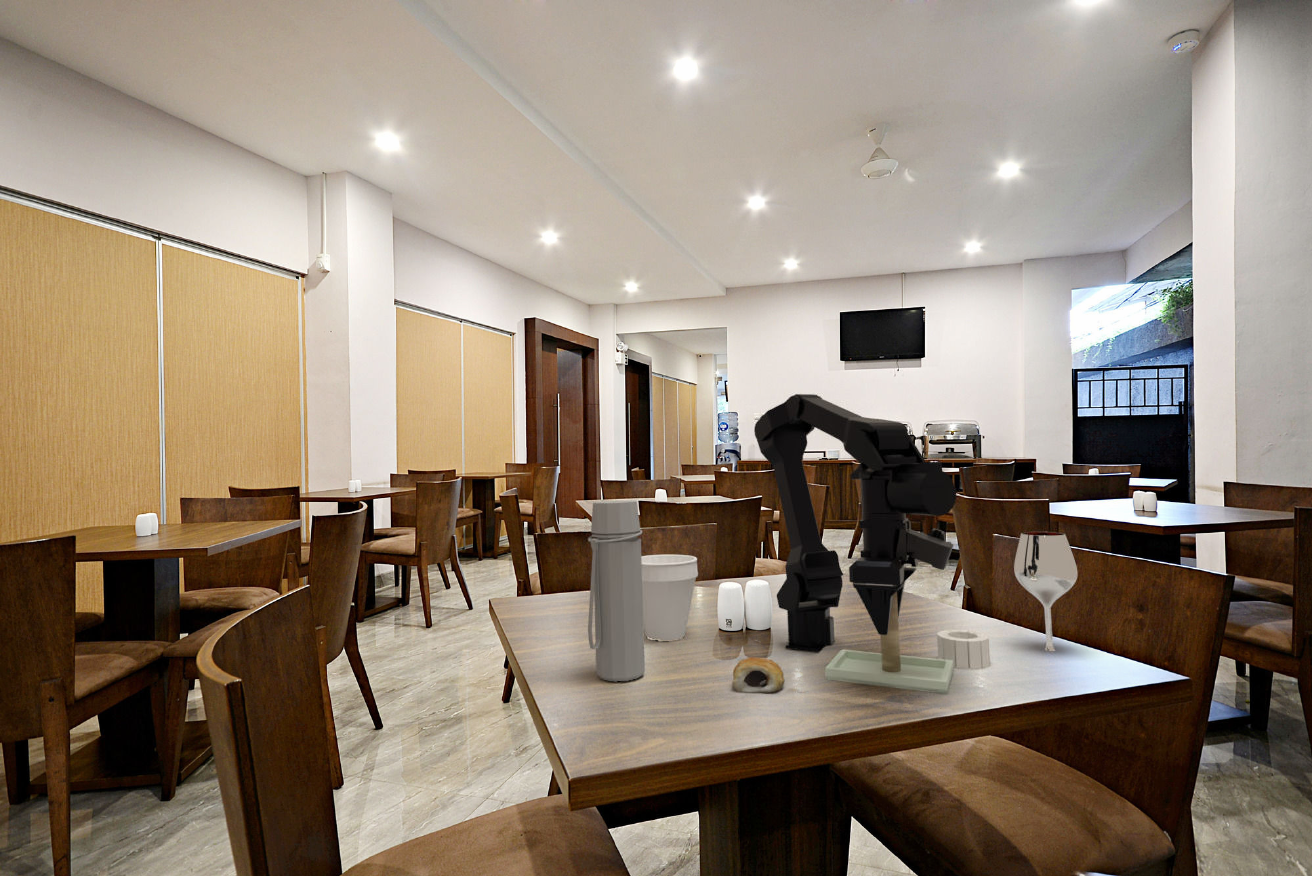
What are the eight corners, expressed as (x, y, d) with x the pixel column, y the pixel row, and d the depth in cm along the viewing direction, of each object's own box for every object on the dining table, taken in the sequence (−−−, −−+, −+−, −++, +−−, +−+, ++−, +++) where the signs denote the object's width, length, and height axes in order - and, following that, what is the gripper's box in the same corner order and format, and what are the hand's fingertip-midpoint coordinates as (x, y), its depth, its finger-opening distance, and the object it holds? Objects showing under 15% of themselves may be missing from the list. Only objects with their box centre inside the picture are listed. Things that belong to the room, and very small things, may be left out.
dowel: (880, 671, 89) (876, 589, 90) (883, 666, 91) (879, 586, 92) (899, 673, 88) (895, 590, 89) (902, 668, 90) (897, 587, 91)
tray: (825, 684, 88) (824, 668, 88) (842, 664, 97) (841, 649, 97) (947, 700, 81) (946, 682, 81) (954, 676, 90) (953, 660, 90)
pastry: (737, 672, 95) (737, 645, 96) (785, 674, 94) (784, 647, 94) (731, 694, 86) (731, 664, 86) (784, 696, 85) (783, 666, 85)
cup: (637, 628, 123) (634, 554, 124) (702, 628, 122) (700, 553, 122) (624, 645, 111) (622, 564, 112) (697, 646, 109) (694, 563, 110)
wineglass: (1093, 663, 93) (1084, 536, 94) (1030, 662, 95) (1022, 536, 96) (1069, 648, 101) (1061, 530, 102) (1011, 647, 103) (1004, 531, 104)
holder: (937, 671, 92) (935, 638, 92) (941, 658, 98) (939, 627, 98) (989, 676, 89) (987, 643, 89) (991, 663, 95) (989, 631, 95)
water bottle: (621, 664, 100) (617, 500, 101) (658, 674, 95) (652, 500, 96) (573, 679, 94) (568, 503, 95) (609, 691, 88) (604, 504, 89)
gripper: (940, 518, 79) (947, 650, 78) (952, 507, 95) (958, 616, 94) (845, 517, 84) (851, 641, 83) (872, 507, 100) (877, 611, 100)
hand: (888, 626), depth 90 cm, fingers open, 9 cm apart
